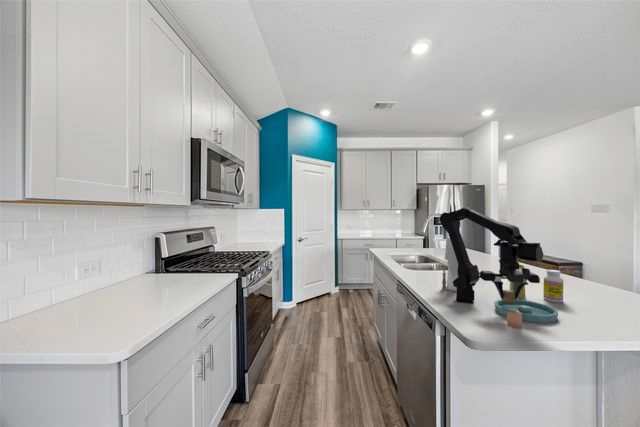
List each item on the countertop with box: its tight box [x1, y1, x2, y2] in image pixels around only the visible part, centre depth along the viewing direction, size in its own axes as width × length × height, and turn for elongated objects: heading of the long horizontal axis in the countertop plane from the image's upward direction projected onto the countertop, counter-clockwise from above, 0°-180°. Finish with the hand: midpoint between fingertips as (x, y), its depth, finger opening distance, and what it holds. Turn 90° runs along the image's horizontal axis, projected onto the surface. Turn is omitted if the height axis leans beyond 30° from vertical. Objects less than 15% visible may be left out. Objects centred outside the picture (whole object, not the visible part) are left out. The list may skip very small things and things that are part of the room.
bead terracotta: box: [506, 311, 523, 329], centre depth 99 cm, size 4×4×4 cm
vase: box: [509, 264, 527, 300], centre depth 131 cm, size 6×6×14 cm
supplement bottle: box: [543, 269, 564, 303], centre depth 125 cm, size 7×7×13 cm
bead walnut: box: [501, 289, 515, 305], centre depth 112 cm, size 4×4×4 cm
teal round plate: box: [494, 299, 559, 324], centre depth 110 cm, size 19×19×2 cm
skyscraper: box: [441, 234, 458, 293], centre depth 144 cm, size 8×8×28 cm
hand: (508, 299), depth 112 cm, fingers closed on bead walnut, 4 cm apart
